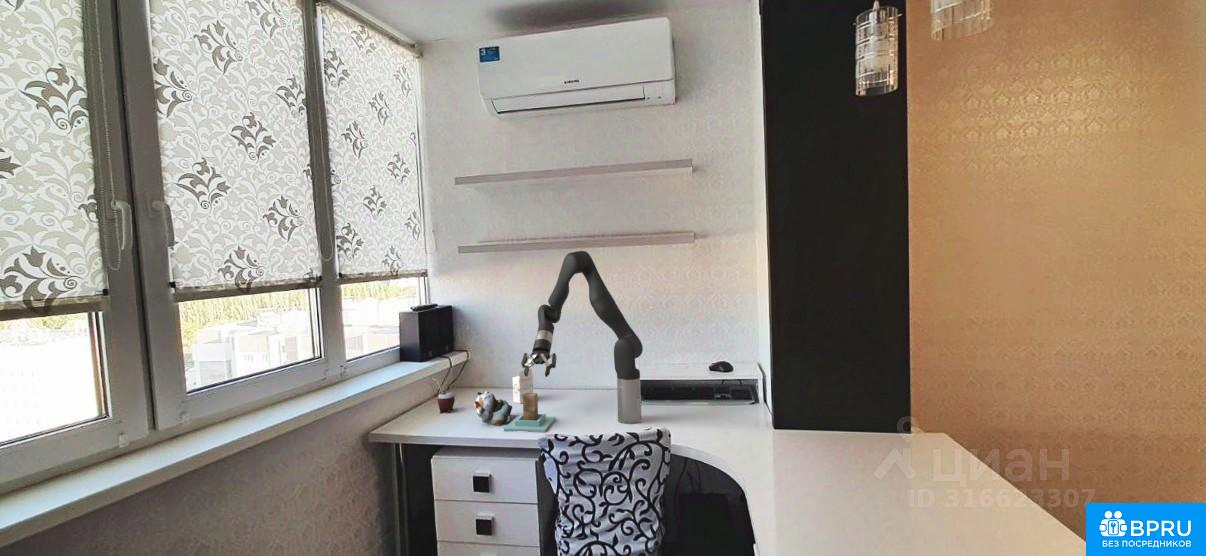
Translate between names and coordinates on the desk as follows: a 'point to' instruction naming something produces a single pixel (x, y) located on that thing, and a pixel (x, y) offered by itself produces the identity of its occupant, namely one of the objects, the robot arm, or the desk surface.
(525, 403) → the walnut block
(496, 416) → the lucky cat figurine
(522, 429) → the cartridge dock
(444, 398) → the mate gourd
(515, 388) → the ink cartridge box
